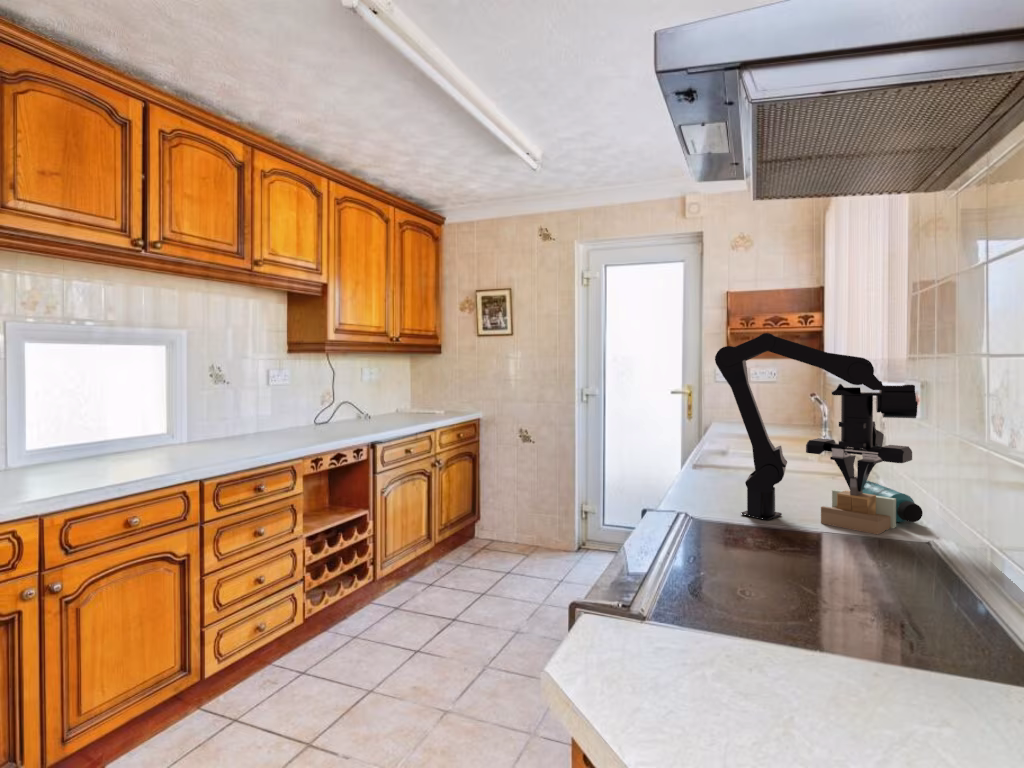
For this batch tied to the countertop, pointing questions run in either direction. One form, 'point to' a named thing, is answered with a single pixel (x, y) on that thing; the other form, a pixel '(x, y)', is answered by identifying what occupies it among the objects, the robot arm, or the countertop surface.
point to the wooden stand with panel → (861, 516)
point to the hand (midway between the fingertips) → (856, 490)
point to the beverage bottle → (904, 503)
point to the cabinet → (856, 500)
